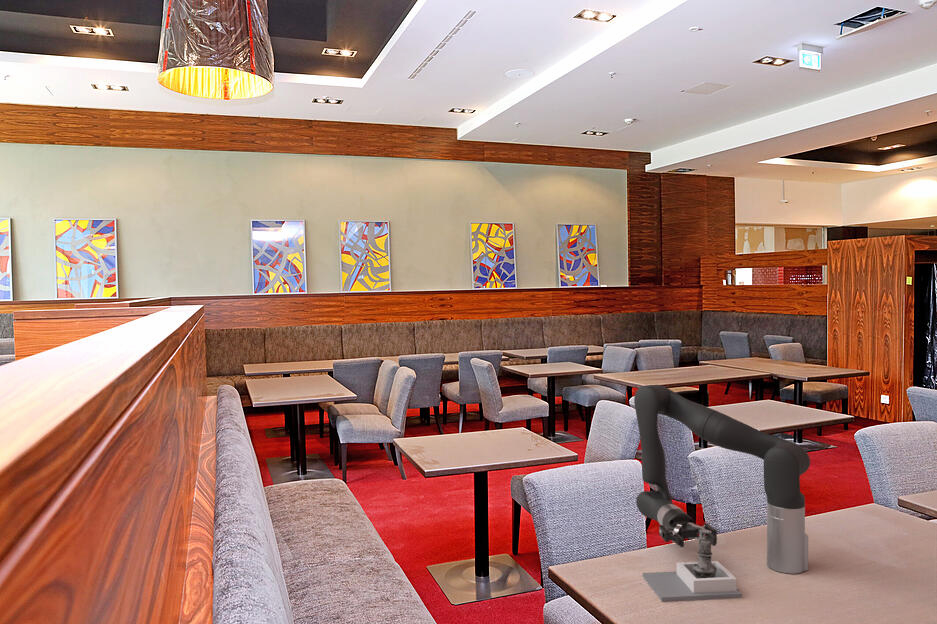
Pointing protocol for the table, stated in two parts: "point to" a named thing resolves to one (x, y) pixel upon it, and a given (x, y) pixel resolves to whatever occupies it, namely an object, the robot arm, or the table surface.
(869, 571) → the table surface
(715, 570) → the salt shaker
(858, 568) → the table surface
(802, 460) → the robot arm
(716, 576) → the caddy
